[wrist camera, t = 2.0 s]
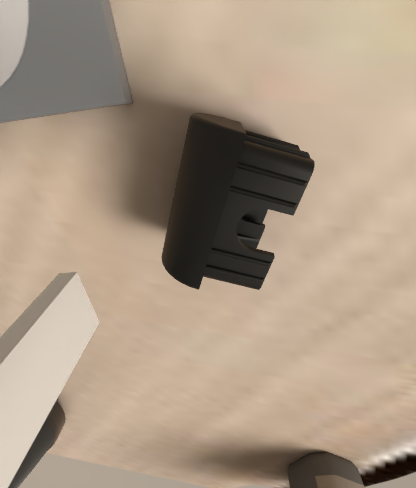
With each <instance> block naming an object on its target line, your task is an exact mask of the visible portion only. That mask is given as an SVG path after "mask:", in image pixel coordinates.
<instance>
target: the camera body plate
mask: <svg viewBox="0 0 416 488" xmlns="http://www.w3.org/2000/svg"><path fill="white" fill-rule="evenodd" d="M128 103H133V101H132V96H131V92H130V88H129V84H128V79H127V75H126V71H125V67H124V62H123V58H122V54H121V50H120V45H119V41H118V37H117V32H116V28H115V24H114V20H113V15H112V11H111V7H110V3H109V0H0V123H2V122H9V121H15V120H22V119H29V118H35V117H42V116H49V115H55V114H62V113H69V112H75V111H82V110H89V109H95V108H102V107H108V106H115V105H122V104H128Z"/></svg>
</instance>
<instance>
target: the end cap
mask: <svg viewBox="0 0 416 488" xmlns="http://www.w3.org/2000/svg"><path fill="white" fill-rule="evenodd" d="M313 170H314V161H313V160H312V159H311V158H310V156H309V154H308V152H304V151H301V150H300V149H299V147H298V145H294V144H291V143H287V142H284V141H280V140H277V139H274V138H270V137H267V136H263V135H260V134H256V133H253V132H249V131H246V130H244V128H243V126H242V125H241V123H240V122H237V121H234V120H230V119H226V118H222V117H218V116H214V115H209V114H202V113H194V114H192V115H191V117H190V121H189V125H188V130H187V135H186V140H185V145H184V150H183V155H182V160H181V165H180V169H179V174H178V179H177V184H176V189H175V194H174V199H173V204H172V209H171V213H170V218H169V223H168V228H167V233H166V238H165V243H164V248H163V253H162V263H163V265H164V267H165V269H166V270H167V272H168V273H169V274H170V275H171V276H172V277H174V278H175V279H176V280H178V281H179V282H181V283H183V284H185V285H187V286H189V287H192V288H195V289H199V287H200V284H201V281H202V278H203V277H208V278H212V279H216V280H220V281H224V282H228V283H233V284H237V285H241V286H245V287H249V288H253V289H258V290H259V289H260V288H261V286H262V284H263V282H264V279H265V277H266V275H267V273H268V270H269V268H270V266H271V264H272V262H273V259H274V257H275V256H274V253H271V252H267V251H263V250H259V249H256V248H257V246H258V243H259V241H260V238H261V236H262V233H263V231H264V228H265V224H262V223H263V221H264V218H265V215H266V213H267V210H268V209H270V210H274V211H278V212H282V213H285V214H289V215H294V213H295V211H296V209H297V206H298V204H299V202H300V200H301V197H302V195H303V193H304V191H305V189H306V186H307V184H308V182H309V180H310V178H311V175H312V173H313Z"/></svg>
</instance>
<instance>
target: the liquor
mask: <svg viewBox="0 0 416 488" xmlns="http://www.w3.org/2000/svg"><path fill="white" fill-rule="evenodd" d="M288 477H289V483H290V488H364V485H363V482H362V479H361V477H360V474H359V471H358V469H357V467H356V466H355V465H354V464H353V463H352V462H351V461H348V460H346V459H343V458H341V457H338V456H336V455H333V454H331V453H328V452H325V453H310V454H308V455H307V456H305V457H303V458H302V459H300V460H298V461H296V462H295V463H293V464H291V465H290V466H289V470H288Z"/></svg>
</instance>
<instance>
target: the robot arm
mask: <svg viewBox="0 0 416 488" xmlns="http://www.w3.org/2000/svg"><path fill="white" fill-rule="evenodd" d="M98 324H99V320H98V318H97V316H96V314H95V311H94V309H93V307H92V305H91V302H90V300H89V298H88V296H87V293H86V291H85V289H84V287H83V285H82V282H81V280H80V278H79V276H78V273H77V272H73V273H59V274H58V275H57V276H56V278H55V279H54V280H53V281H52V282H51V283H50V284H49V285H48V286H47V287H46V288H45V290H44V291H43V292H42V293H41V294H40V295H39V296H38V297H37V298H36V299H35V300H34V302H33V303H32V304H31V305H30V306H29V307H28V308H27V309H26V310H25V311H24V312H23V313H22V315H21V316H20V317H19V318H18V319H17V320H16V321H15V322H14V323H13V324H12V325H11V327H10V328H9V329H8V330H7V331H6V332H5V333H4V334H3V335H2V336H1V337H0V488H18V487H19V486H20V484H21V483H22V482H23V481H24V479H25V478H26V477H27V476H28V474H29V473H30V472H31V471H32V470H33V468H34V467H35V466H36V465H37V463H38V462H39V461H40V459H41V458H42V457H43V455H44V454H45V453H46V451H48V450H49V449H50V448H51V447H52V446H53V445H54V443H55V442H56V440H57V438H58V436H59V434H60V432H61V430H62V428H63V426H64V423H65V413H64V411H63V409H62V407H61V406H60V404H59V403H58V402H57V401H56V400H57V398H58V396H59V395H60V393H61V391H62V389H63V387H64V386H65V384H66V382H67V380H68V378H69V376H70V375H71V373H72V371H73V369H74V367H75V366H76V364H77V362H78V360H79V358H80V357H81V355H82V353H83V351H84V349H85V348H86V346H87V344H88V342H89V340H90V339H91V337H92V335H93V333H94V331H95V329H96V328H97V326H98Z"/></svg>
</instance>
